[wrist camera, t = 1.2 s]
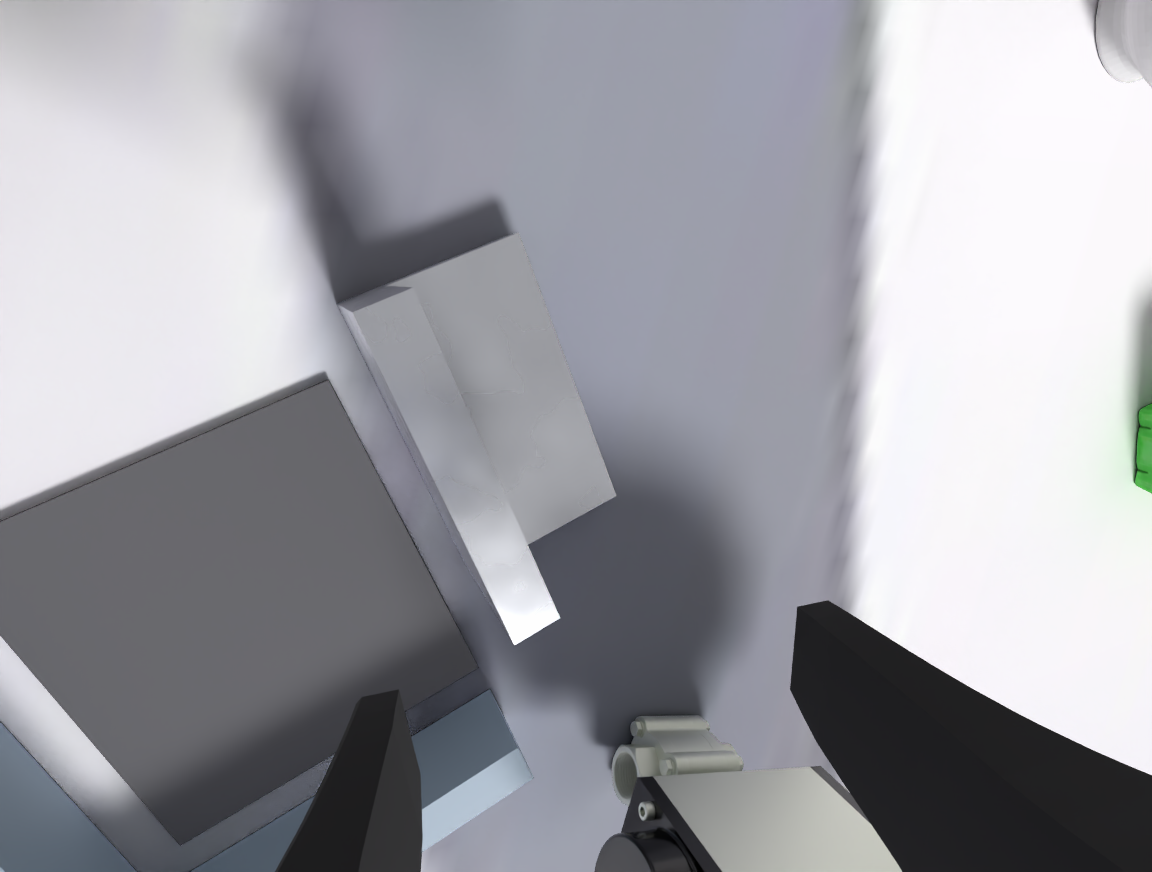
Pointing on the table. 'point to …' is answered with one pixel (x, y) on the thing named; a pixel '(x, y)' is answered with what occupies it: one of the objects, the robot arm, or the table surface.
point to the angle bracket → (485, 414)
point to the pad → (226, 607)
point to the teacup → (1125, 39)
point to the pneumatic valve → (729, 810)
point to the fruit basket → (1144, 450)
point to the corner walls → (449, 800)
